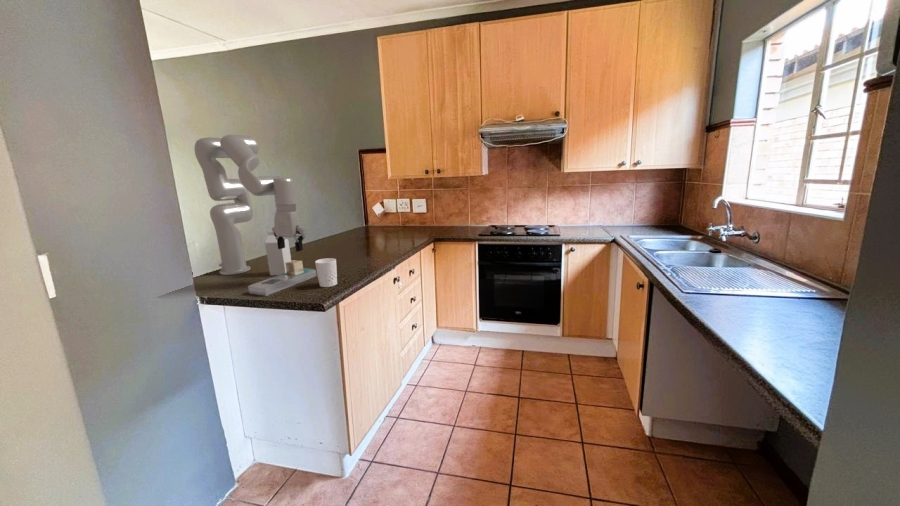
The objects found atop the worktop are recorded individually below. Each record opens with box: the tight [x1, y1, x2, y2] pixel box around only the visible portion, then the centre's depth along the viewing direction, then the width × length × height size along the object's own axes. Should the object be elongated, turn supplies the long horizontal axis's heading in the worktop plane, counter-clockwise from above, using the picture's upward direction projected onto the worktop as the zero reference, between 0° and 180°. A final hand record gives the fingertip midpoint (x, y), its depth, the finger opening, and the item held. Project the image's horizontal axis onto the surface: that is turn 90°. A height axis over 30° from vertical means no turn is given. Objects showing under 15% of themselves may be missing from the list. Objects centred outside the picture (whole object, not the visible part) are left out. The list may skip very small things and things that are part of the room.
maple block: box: [285, 259, 304, 276], centre depth 152 cm, size 5×5×8 cm
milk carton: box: [264, 231, 292, 276], centre depth 162 cm, size 7×7×19 cm
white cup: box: [314, 257, 338, 288], centre depth 144 cm, size 8×8×10 cm
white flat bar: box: [247, 267, 318, 297], centre depth 147 cm, size 26×9×3 cm, turn 157°
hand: (290, 249), depth 150 cm, fingers open, 9 cm apart
